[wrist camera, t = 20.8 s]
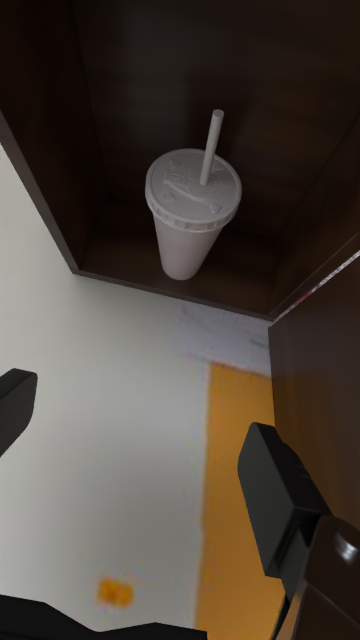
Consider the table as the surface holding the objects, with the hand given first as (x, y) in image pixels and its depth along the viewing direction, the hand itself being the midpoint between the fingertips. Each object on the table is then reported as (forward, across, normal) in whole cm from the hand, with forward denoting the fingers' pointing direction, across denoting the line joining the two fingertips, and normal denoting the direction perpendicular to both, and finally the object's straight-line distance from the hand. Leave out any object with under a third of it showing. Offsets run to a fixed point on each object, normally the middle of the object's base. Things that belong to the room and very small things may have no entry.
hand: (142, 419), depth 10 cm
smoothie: (+18, 0, +5) cm, 19 cm away
